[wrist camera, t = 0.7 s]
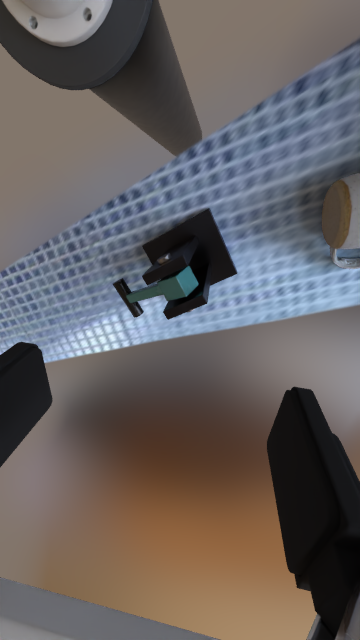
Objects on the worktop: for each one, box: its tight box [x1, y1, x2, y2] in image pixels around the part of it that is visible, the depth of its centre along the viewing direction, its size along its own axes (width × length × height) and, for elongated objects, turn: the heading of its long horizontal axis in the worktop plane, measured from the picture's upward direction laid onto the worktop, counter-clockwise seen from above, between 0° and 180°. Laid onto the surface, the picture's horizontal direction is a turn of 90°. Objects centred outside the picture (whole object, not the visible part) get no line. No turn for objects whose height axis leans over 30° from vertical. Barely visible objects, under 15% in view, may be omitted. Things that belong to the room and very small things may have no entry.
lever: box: [113, 266, 199, 317], centre depth 27 cm, size 11×5×2 cm, turn 120°
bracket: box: [142, 209, 237, 320], centre depth 28 cm, size 10×9×13 cm
